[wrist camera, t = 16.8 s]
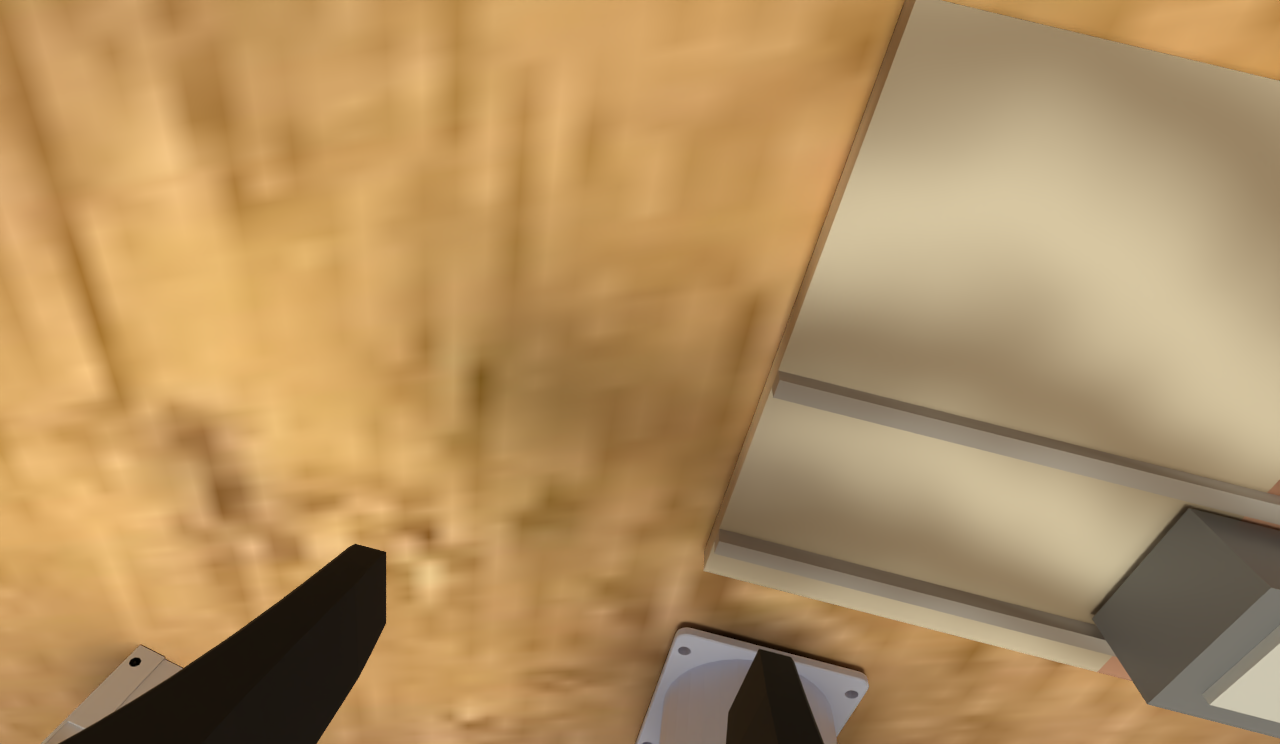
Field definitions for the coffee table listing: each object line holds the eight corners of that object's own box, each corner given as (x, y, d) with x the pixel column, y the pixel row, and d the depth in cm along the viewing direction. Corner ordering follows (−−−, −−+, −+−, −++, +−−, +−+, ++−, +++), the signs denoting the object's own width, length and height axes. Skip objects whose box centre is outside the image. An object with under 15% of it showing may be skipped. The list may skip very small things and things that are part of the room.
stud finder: (1269, 663, 20) (1368, 775, 17) (1091, 618, 20) (1158, 721, 17) (1391, 558, 17) (1534, 666, 14) (1188, 508, 17) (1287, 603, 14)
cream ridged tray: (1335, 712, 22) (1376, 757, 20) (704, 550, 22) (702, 583, 21) (1954, 249, 13) (2100, 270, 12) (905, -1, 14) (926, -8, 12)
